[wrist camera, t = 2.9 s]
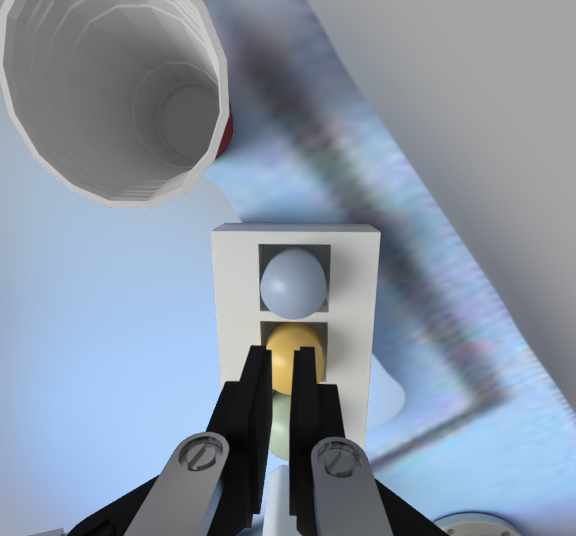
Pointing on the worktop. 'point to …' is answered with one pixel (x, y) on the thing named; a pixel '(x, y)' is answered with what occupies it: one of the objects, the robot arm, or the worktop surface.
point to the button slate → (293, 283)
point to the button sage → (280, 426)
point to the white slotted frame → (326, 320)
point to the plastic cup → (117, 94)
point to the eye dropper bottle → (279, 506)
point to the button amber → (292, 352)
